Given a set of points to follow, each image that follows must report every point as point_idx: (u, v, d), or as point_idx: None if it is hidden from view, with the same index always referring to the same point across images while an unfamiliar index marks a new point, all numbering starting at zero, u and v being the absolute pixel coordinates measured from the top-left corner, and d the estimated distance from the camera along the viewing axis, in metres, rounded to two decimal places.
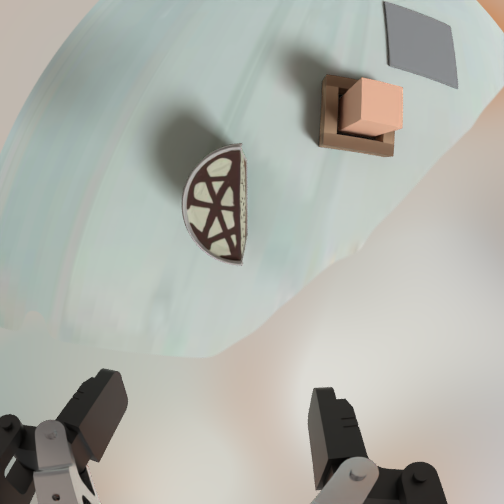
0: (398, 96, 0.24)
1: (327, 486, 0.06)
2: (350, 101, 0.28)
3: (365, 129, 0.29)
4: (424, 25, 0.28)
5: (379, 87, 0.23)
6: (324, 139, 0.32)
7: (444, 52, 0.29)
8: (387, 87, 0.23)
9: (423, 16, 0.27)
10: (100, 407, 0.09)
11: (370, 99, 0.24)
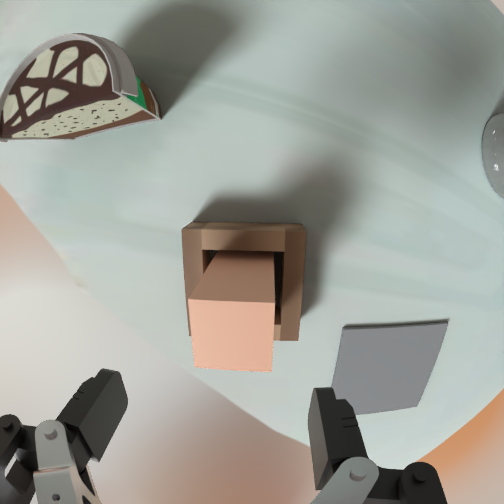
0: (250, 364, 0.16)
1: (327, 486, 0.06)
2: (247, 274, 0.19)
3: None
4: (414, 375, 0.27)
5: (260, 333, 0.15)
6: (190, 230, 0.21)
7: (376, 400, 0.28)
8: (264, 347, 0.16)
9: (428, 374, 0.27)
10: (100, 407, 0.09)
11: (231, 317, 0.15)
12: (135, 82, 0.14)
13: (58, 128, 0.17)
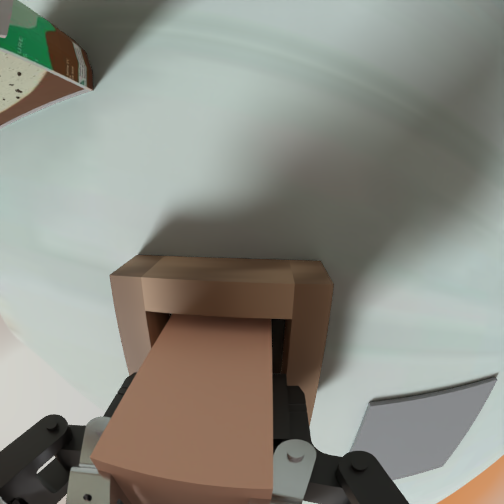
0: None
1: None
2: (219, 378, 0.09)
3: None
4: (447, 439, 0.17)
5: None
6: (123, 278, 0.11)
7: (398, 469, 0.18)
8: None
9: (462, 435, 0.17)
10: None
11: (179, 495, 0.05)
12: (7, 14, 0.04)
13: None
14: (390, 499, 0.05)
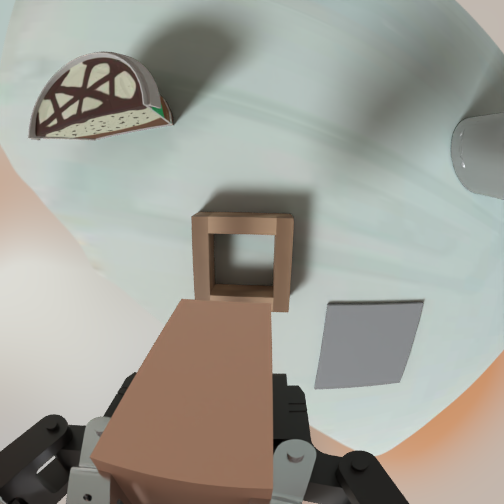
0: None
1: None
2: (219, 378, 0.09)
3: None
4: (394, 351, 0.32)
5: None
6: (198, 217, 0.26)
7: (360, 374, 0.33)
8: None
9: (407, 350, 0.32)
10: None
11: (179, 495, 0.05)
12: (158, 97, 0.18)
13: (86, 130, 0.22)
14: (390, 499, 0.05)
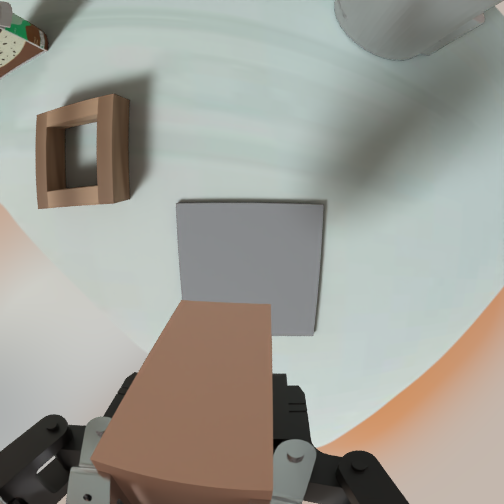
0: None
1: None
2: (219, 380, 0.09)
3: None
4: (291, 281, 0.25)
5: None
6: (41, 114, 0.19)
7: None
8: None
9: (313, 282, 0.25)
10: None
11: (179, 497, 0.05)
12: (10, 20, 0.12)
13: None
14: (390, 499, 0.05)
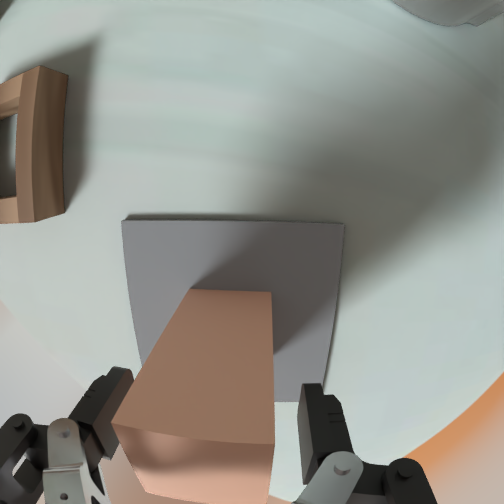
0: (232, 501, 0.07)
1: (311, 479, 0.06)
2: (226, 354, 0.10)
3: None
4: (291, 336, 0.17)
5: (247, 476, 0.07)
6: None
7: None
8: (254, 488, 0.07)
9: (324, 337, 0.17)
10: (112, 404, 0.09)
11: (191, 456, 0.07)
12: None
13: None
14: None
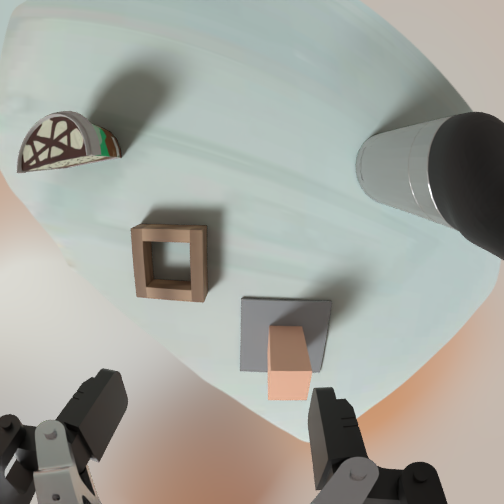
0: (297, 397, 0.31)
1: (327, 486, 0.06)
2: (293, 350, 0.34)
3: None
4: (309, 343, 0.40)
5: (303, 383, 0.30)
6: (135, 229, 0.34)
7: None
8: (304, 389, 0.30)
9: (322, 343, 0.40)
10: (100, 407, 0.09)
11: (290, 377, 0.30)
12: (99, 146, 0.26)
13: (57, 165, 0.29)
14: None
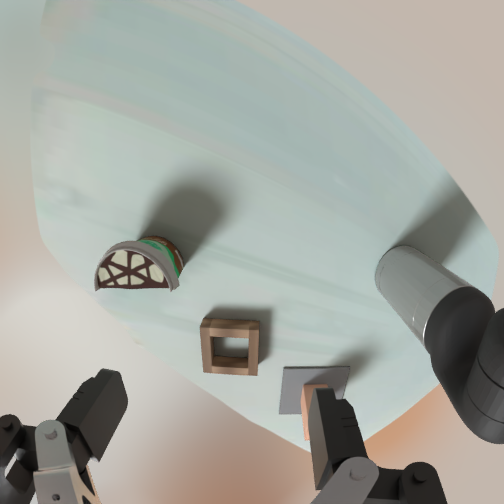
0: None
1: (327, 486, 0.06)
2: None
3: (304, 412, 0.45)
4: None
5: None
6: (204, 328, 0.44)
7: None
8: None
9: (341, 394, 0.50)
10: (100, 407, 0.09)
11: None
12: (177, 279, 0.36)
13: None
14: None
